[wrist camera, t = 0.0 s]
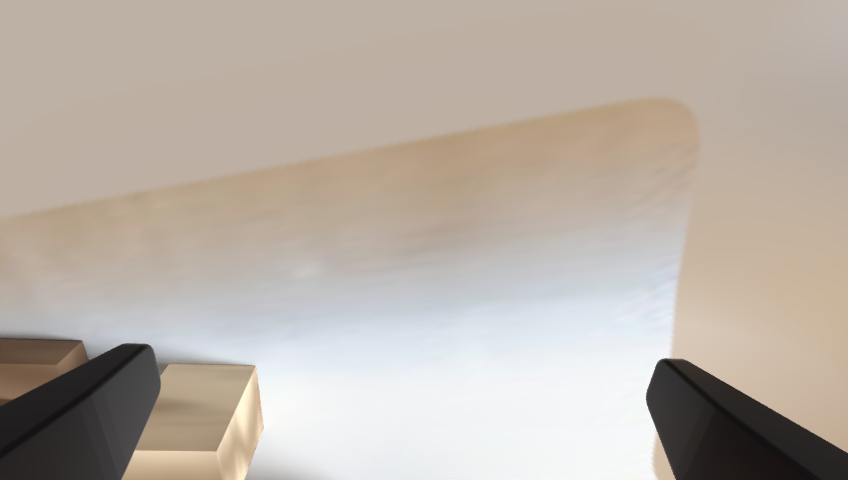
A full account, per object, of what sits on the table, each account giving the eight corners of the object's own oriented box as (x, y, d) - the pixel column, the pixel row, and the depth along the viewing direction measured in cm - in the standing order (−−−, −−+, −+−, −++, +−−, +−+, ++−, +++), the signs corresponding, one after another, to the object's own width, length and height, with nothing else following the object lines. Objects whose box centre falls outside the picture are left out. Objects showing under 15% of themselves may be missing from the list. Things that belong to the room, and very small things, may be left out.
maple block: (263, 426, 28) (229, 519, 23) (183, 425, 28) (129, 519, 22) (256, 365, 26) (216, 451, 21) (169, 363, 26) (106, 450, 20)
